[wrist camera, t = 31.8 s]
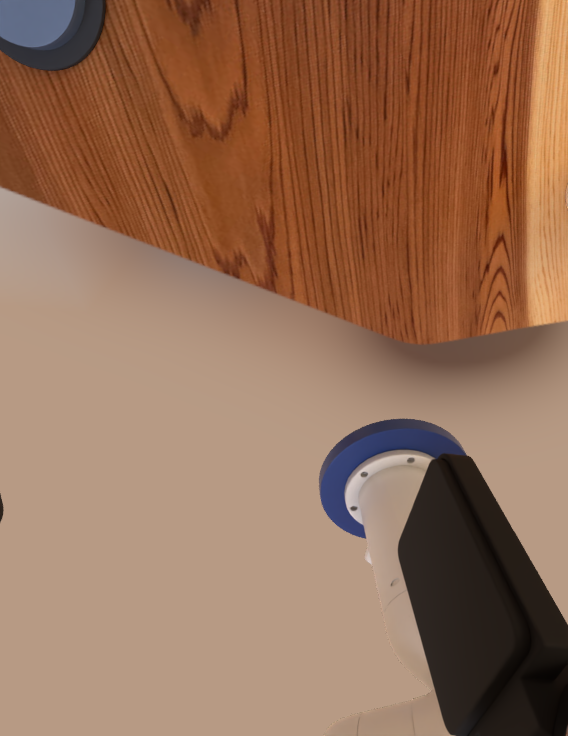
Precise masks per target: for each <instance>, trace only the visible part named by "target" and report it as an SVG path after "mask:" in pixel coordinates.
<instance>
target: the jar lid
mask: <svg viewBox="0 0 568 736" xmlns="http://www.w3.org/2000/svg"><path fill="white" fill-rule="evenodd" d="M84 9H85V0H0V37H2V38H3V39H5V40H7V41H9V42H11V43H14V44H16V45H20V46H23V47H27V48H31V49H35V50H52V49H56V48H58V47H61V46H63V45H64V44H66V43H67V42H68V41H69V40H70V39H71V38H72V37H73V36H74V35H75V33H76V32H77V30H78V28H79V27H80V24H81V21H82V19H83V14H84Z"/></svg>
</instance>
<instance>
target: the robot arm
mask: <svg viewBox="0 0 568 736" xmlns="http://www.w3.org/2000/svg"><path fill="white" fill-rule="evenodd" d="M344 496H345V502H346V506H347V509H348V511H349V513H350V514H351V516H352V517H353V518H354V519H355V520H356V521H358V522H359V523H361V524H362V525H364V530H365V535H366V539H367V544H368V548H367V551H366V554H365V559H366V561H367V562H368V563H370V564H372V567H373V572H374V577H375V582H376V586H377V591H378V596H379V600H380V605H381V610H382V614H383V619H384V624H385V628H386V633H387V636H388V640H389V643H390V645H391V648H392V650H393V651H394V653H395V655H396V656H397V658H398V659H399V661H400V662H401V663H402V664H403V665H404V667H405V668H406V669H407V670H408V671H409V672H410V673H411V674H412V675H413V676H414V677H416V678H417V679H418V680H419V681H420V682H421V683H423V684H424V685H425V686H426V687H427V688H429V689H430V690H431V692H430V693H428V694H427V695H423V696H420V697H417V698H414V699H413V700H410V701H406V702H402V703H398V704H394V705H390V706H386V707H382V708H377V709H374V710H369V711H365V712H361V713H357V714H353V715H350V716H347V717H344V718H342V719H340V720H337V721H336V722H334V723H333V724H332V725H331V726H330V727H328V729H327V730H326V731H325V733H324V735H323V736H568V625H567V623H566V621H565V619H564V618H563V616H562V614H561V612H560V611H559V609H558V607H557V605H556V604H555V602H554V600H553V598H552V597H551V595H550V593H549V591H548V590H547V588H546V586H545V584H544V583H543V581H542V579H541V578H540V576H539V574H538V572H537V570H536V569H535V567H534V565H533V564H532V562H531V560H530V558H529V556H528V555H527V553H526V551H525V549H524V548H523V546H522V544H521V542H520V541H519V539H518V537H517V536H516V534H515V532H514V531H513V529H512V527H511V525H510V524H509V522H508V520H507V518H506V517H505V515H504V513H503V512H502V510H501V508H500V506H499V504H498V503H497V501H496V499H495V497H494V496H493V494H492V492H491V491H490V489H489V487H488V485H487V483H486V482H485V480H484V478H483V477H482V475H481V473H480V471H479V469H478V468H477V466H476V464H475V463H474V461H473V459H472V458H471V457H469V456H466V455H456V454H446V453H443V454H441V455H440V456H439V457H438V459H435V458H434V457H432V456H430V455H428V454H426V453H423V452H420V451H414V450H393V451H387V452H384V453H380V454H377V455H375V456H373V457H371V458H369V459H367V460H366V461H364V462H363V463H361V464H360V465H359V466H358V467H357V468H356V469H355V470H354V471H353V472H352V473H351V475H350V476H349V478H348V480H347V482H346V485H345V490H344ZM2 516H3V503H2V499H1V495H0V521H1V519H2Z"/></svg>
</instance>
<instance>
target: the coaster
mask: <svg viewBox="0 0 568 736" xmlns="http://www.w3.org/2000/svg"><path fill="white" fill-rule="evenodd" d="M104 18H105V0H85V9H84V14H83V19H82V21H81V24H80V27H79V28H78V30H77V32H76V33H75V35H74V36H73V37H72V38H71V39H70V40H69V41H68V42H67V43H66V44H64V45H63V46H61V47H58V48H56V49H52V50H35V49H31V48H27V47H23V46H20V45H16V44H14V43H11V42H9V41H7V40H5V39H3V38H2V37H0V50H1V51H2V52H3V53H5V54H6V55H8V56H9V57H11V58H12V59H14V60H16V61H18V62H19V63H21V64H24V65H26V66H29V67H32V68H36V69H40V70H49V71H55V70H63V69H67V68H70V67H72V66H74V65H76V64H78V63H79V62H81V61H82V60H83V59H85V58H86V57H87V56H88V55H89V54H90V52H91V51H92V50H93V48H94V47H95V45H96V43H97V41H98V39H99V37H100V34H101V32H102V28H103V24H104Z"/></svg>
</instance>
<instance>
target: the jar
mask: <svg viewBox="0 0 568 736" xmlns="http://www.w3.org/2000/svg"><path fill="white" fill-rule="evenodd" d="M565 196H566V206H567V209H568V184H567V188H566V195H565Z"/></svg>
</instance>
